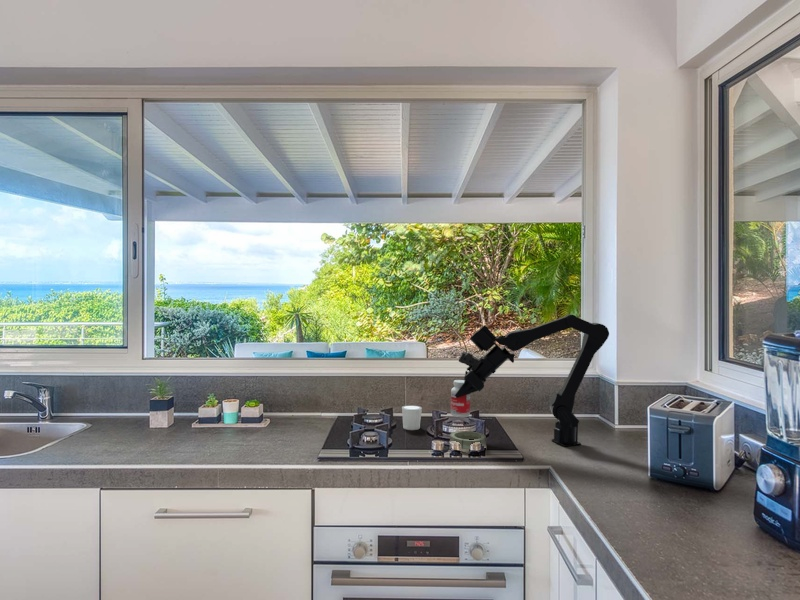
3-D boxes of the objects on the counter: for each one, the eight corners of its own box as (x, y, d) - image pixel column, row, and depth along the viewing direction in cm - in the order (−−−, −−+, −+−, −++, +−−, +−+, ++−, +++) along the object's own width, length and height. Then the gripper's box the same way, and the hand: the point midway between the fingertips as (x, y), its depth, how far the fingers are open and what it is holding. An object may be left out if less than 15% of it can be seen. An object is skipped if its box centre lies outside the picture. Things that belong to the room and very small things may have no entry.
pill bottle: (447, 415, 160) (447, 381, 159) (456, 412, 164) (457, 378, 164) (463, 418, 156) (464, 383, 156) (473, 415, 161) (474, 381, 160)
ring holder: (474, 440, 155) (475, 429, 155) (493, 451, 145) (493, 439, 145) (442, 443, 151) (443, 432, 151) (459, 454, 141) (460, 442, 141)
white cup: (419, 431, 165) (420, 410, 165) (399, 429, 166) (399, 408, 166) (422, 425, 171) (423, 405, 171) (403, 424, 173) (403, 404, 173)
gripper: (474, 340, 168) (441, 372, 170) (473, 346, 150) (436, 381, 152) (497, 364, 167) (464, 396, 169) (499, 373, 149) (461, 408, 151)
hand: (456, 394), depth 160 cm, fingers closed on pill bottle, 6 cm apart
